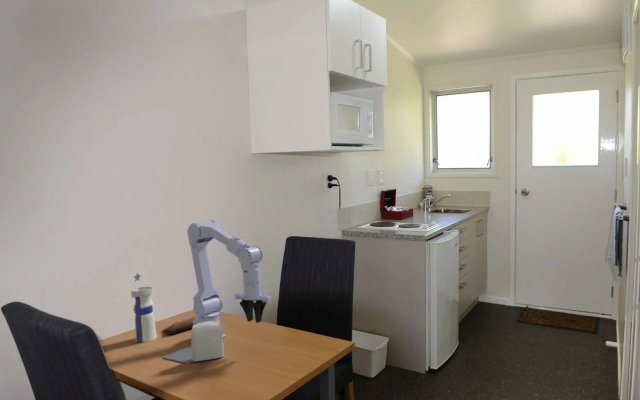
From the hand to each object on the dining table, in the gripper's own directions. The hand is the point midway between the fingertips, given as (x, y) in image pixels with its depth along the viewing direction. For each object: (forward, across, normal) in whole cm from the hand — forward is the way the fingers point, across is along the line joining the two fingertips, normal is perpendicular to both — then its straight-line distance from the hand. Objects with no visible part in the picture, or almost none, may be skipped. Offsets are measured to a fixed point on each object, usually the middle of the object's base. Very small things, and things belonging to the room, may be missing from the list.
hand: (254, 321), depth 162 cm
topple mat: (+10, -20, -12) cm, 25 cm away
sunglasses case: (+11, -42, +8) cm, 45 cm away
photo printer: (+10, -11, -12) cm, 19 cm away
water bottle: (+11, -48, -7) cm, 50 cm away
